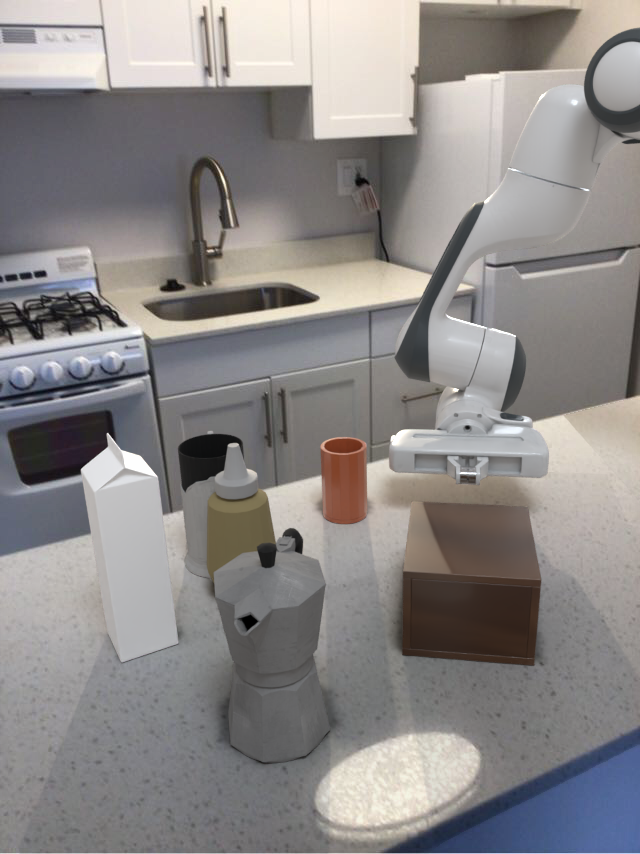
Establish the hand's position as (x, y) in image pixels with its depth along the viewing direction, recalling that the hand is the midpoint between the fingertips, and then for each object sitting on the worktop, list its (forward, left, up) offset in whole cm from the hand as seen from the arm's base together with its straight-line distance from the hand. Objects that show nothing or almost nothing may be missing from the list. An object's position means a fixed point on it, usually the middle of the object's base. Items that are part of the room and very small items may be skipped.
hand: (467, 479), depth 92 cm
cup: (+15, -8, -8) cm, 19 cm away
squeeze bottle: (+27, +10, -9) cm, 30 cm away
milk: (+37, +18, -9) cm, 42 cm away
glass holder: (+31, 0, -9) cm, 32 cm away
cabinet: (+3, +16, -8) cm, 18 cm away
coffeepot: (+22, +30, -9) cm, 38 cm away
